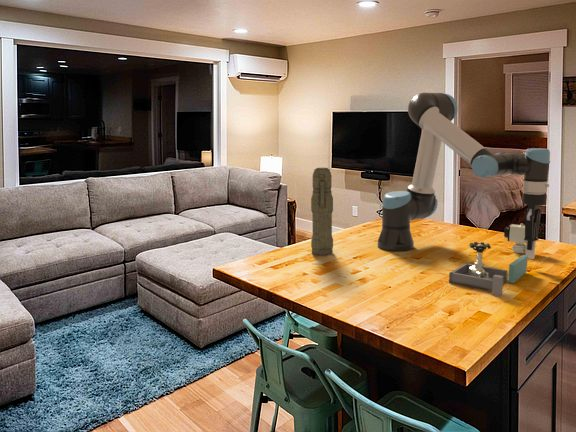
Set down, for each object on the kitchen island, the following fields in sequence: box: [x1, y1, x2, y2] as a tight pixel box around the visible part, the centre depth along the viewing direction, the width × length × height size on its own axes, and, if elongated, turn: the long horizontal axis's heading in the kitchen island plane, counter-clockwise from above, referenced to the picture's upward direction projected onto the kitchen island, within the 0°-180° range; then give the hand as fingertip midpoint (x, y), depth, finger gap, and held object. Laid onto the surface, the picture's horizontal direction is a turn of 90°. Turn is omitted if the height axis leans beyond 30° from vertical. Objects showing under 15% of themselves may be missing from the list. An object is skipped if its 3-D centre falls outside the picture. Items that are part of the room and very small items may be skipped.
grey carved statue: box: [310, 167, 334, 257], centre depth 197 cm, size 9×12×35 cm
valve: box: [469, 241, 492, 279], centre depth 161 cm, size 7×7×12 cm
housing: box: [448, 262, 508, 297], centre depth 159 cm, size 17×17×6 cm
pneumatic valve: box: [503, 223, 539, 255], centre depth 196 cm, size 6×12×12 cm, turn 55°
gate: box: [507, 254, 529, 284], centre depth 164 cm, size 2×15×6 cm, turn 140°
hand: (529, 258), depth 174 cm, fingers closed
